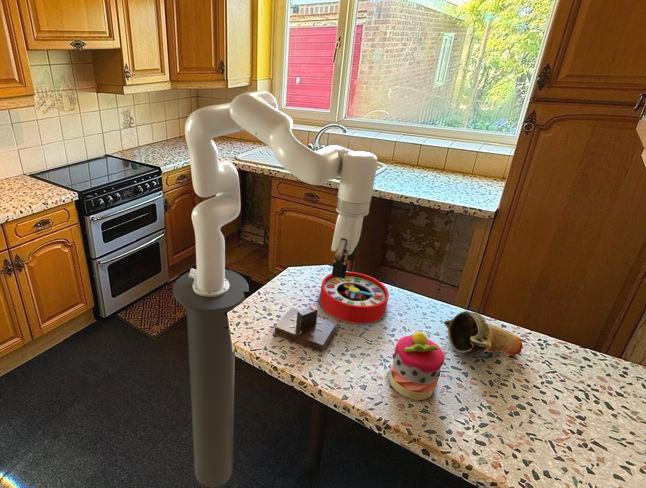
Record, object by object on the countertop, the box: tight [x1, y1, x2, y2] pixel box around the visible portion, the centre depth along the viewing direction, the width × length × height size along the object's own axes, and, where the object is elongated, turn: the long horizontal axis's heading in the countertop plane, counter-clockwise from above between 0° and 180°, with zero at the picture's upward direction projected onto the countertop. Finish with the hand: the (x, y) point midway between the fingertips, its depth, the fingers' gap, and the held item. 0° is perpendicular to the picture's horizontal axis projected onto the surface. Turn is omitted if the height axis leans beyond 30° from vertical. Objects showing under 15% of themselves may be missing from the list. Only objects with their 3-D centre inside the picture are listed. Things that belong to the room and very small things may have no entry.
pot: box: [443, 310, 524, 357], centre depth 106 cm, size 17×11×18 cm
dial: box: [296, 305, 319, 330], centre depth 112 cm, size 5×2×5 cm, turn 117°
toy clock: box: [319, 271, 390, 325], centre depth 125 cm, size 20×6×20 cm
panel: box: [274, 307, 338, 353], centre depth 113 cm, size 14×11×3 cm
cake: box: [388, 331, 446, 401], centre depth 93 cm, size 10×11×15 cm
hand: (343, 267), depth 102 cm, fingers open, 9 cm apart
